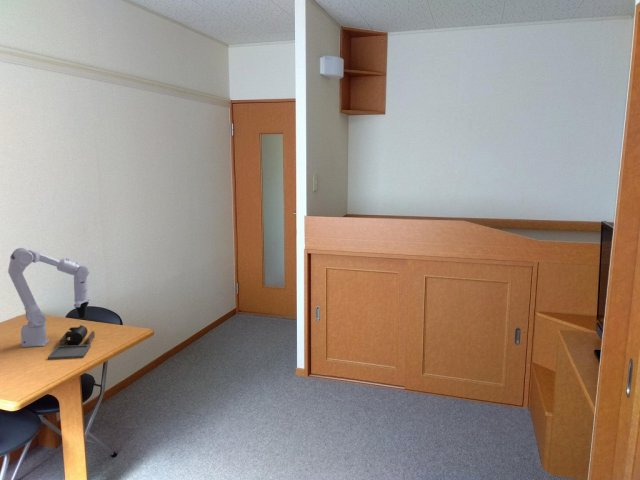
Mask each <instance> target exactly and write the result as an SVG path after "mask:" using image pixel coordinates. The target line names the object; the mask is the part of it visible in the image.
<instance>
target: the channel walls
mask: <svg viewBox="0 0 640 480" xmlns="http://www.w3.org/2000/svg"><path fill="white" fill-rule="evenodd" d="M66 333H67V332H65V333H64V335H63V336H62V337H61V338H60V339H59V346H65V345H66V340H70V337H67V338H66ZM95 335H96V334H95V331H91V332H90V333H89V335H88V336H87V338H86V345H89V344H92V342H93V341H94V339H95V337H96V336H95Z"/></svg>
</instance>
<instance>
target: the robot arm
mask: <svg viewBox="0 0 640 480" xmlns="http://www.w3.org/2000/svg"><path fill="white" fill-rule="evenodd" d="M9 257H10V260H9V264H8V270H7V273H8V275H9V277H10V279H11V281H12V284H13V286H14V288H15V290H16V292H17V294H18V296H19V298H20V301H21V302H22V304H23V308H24V311H25V319H26V320H27V321H28V322H27V324H23V325H22V327H21V329H20V337H21V347H20V348H27V347H28V348H29V347H45V345H47V344H48V342H49V341H50V338H47V330H46V329H47V328H46V326H47V325H46V321H47V315H45V313H43V312H42V311H41V309H40V307H39V306H38V304H37V302H36V300H35V297H34V295H33V294H32V291H31V289H30V286H29V285H28V282H27V280H26V278H25V276H24V271H25V269H26V268H27V267H28V266H30V264H32V263H38V262H41V263H44V264H47V265H50V266H52V267H53V266H54V267H55V268H56V270H57V271H59V272H62V273H65V274H68V275H70V276H73V291H74V299H73V300H74V301H73V302H74V305H73V306H74V308H75V309H76V311H77V314H78V317H79V319H85V317H86V313H87V308H88V306H89V302H90V301H91V300H92V299H91V297H90V298H89V295H88V294H89V292H88V276H89V273H90V272H89V269H88V268H87V266H84V265H82V264H80V263H79V262H74V261H71V260H70V259H69V258H62V259H57V258H54V257H52V256H50V255H47V254H44V253H42V252H39V251H36V250H32V249H26V248H24V247H19V248H15V250H14V251H12V254H10V256H9Z"/></svg>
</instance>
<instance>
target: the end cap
mask: <svg viewBox="0 0 640 480" xmlns="http://www.w3.org/2000/svg"><path fill="white" fill-rule="evenodd" d="M68 330H69V331H66V332H65V333H66V338H67V337H69V339H68V340H66V343H65V346H68V345H81V344H82V342H83V341H84V340H85V338H86V336H87V335H88V332H89V331H88V329H87V327H86V326H84V325H79V326H77V327H75V326H74V327H70V328H69V329H68Z"/></svg>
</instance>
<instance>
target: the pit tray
mask: <svg viewBox="0 0 640 480" xmlns="http://www.w3.org/2000/svg"><path fill="white" fill-rule="evenodd" d="M91 344H92V343H91ZM91 344H89V345H87V344H79V345H68V346H66V345H64V346H60V345H56V346H55V348H54V349H53V350H52V351H51V352H50V354H49V355H48V356H47V360H63V359H80V358H82V359H83V358H85V357H86V354H87V353H88V352H89V349H90V348H91V347H92V346H91Z"/></svg>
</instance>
